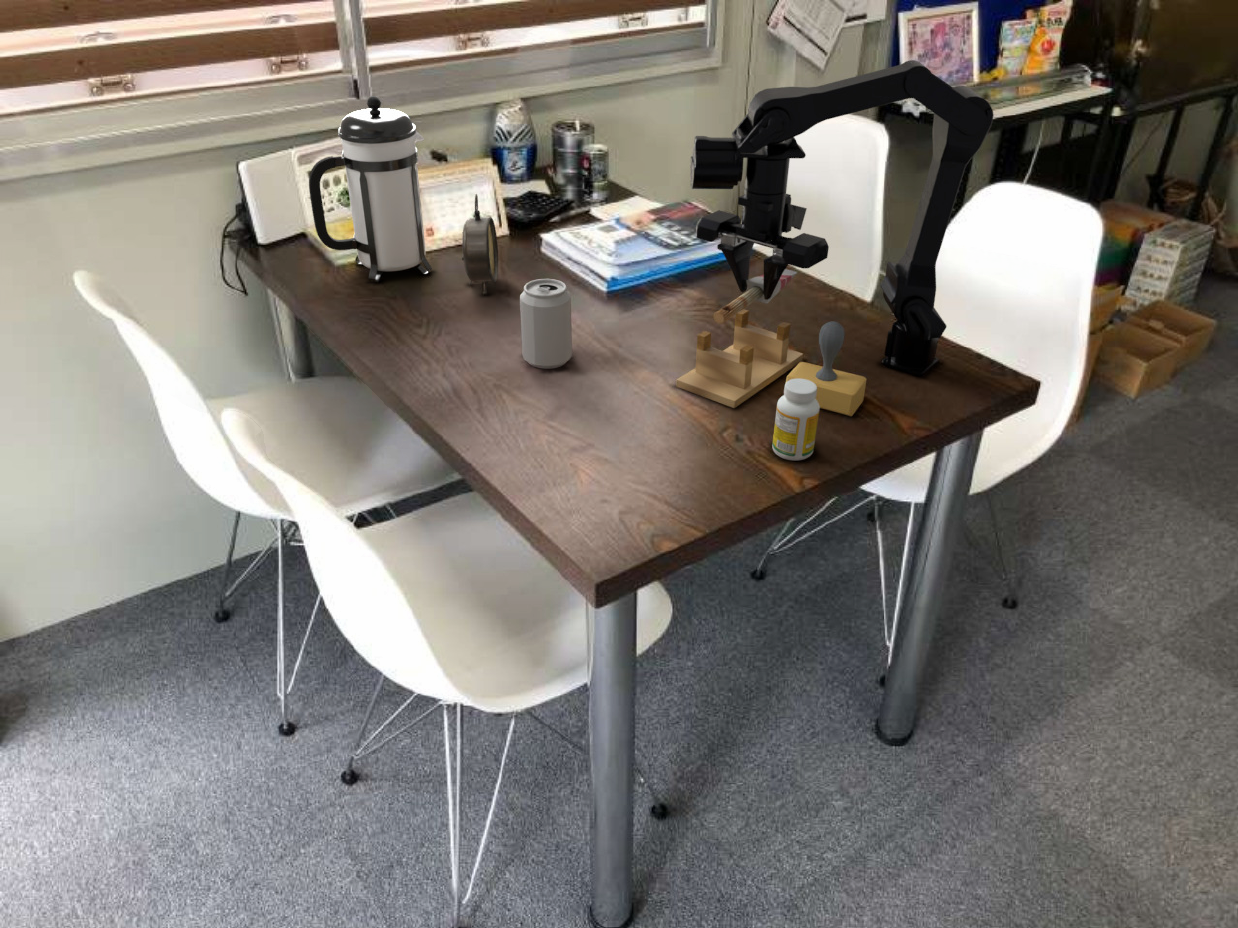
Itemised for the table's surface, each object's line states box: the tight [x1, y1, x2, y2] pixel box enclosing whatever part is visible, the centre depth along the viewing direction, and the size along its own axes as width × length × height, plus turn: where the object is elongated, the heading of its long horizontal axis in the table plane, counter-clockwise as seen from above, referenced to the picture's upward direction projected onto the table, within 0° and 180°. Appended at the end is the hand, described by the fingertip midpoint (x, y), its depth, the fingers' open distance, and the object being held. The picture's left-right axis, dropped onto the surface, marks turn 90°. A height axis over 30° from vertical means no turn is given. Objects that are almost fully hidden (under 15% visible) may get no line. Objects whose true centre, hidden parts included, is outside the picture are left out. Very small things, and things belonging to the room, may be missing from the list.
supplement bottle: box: [771, 379, 821, 461], centre depth 128 cm, size 5×5×10 cm
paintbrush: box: [713, 268, 798, 325], centre depth 146 cm, size 4×3×20 cm
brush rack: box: [675, 308, 804, 409], centre depth 147 cm, size 10×19×7 cm, turn 141°
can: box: [519, 278, 573, 370], centre depth 149 cm, size 8×8×12 cm
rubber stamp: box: [785, 320, 867, 417], centre depth 139 cm, size 10×6×12 cm, turn 61°
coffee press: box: [308, 95, 433, 284], centre depth 173 cm, size 17×16×30 cm
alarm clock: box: [461, 193, 499, 296], centre depth 172 cm, size 11×5×16 cm, turn 179°
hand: (755, 295), depth 146 cm, fingers closed on paintbrush, 4 cm apart
